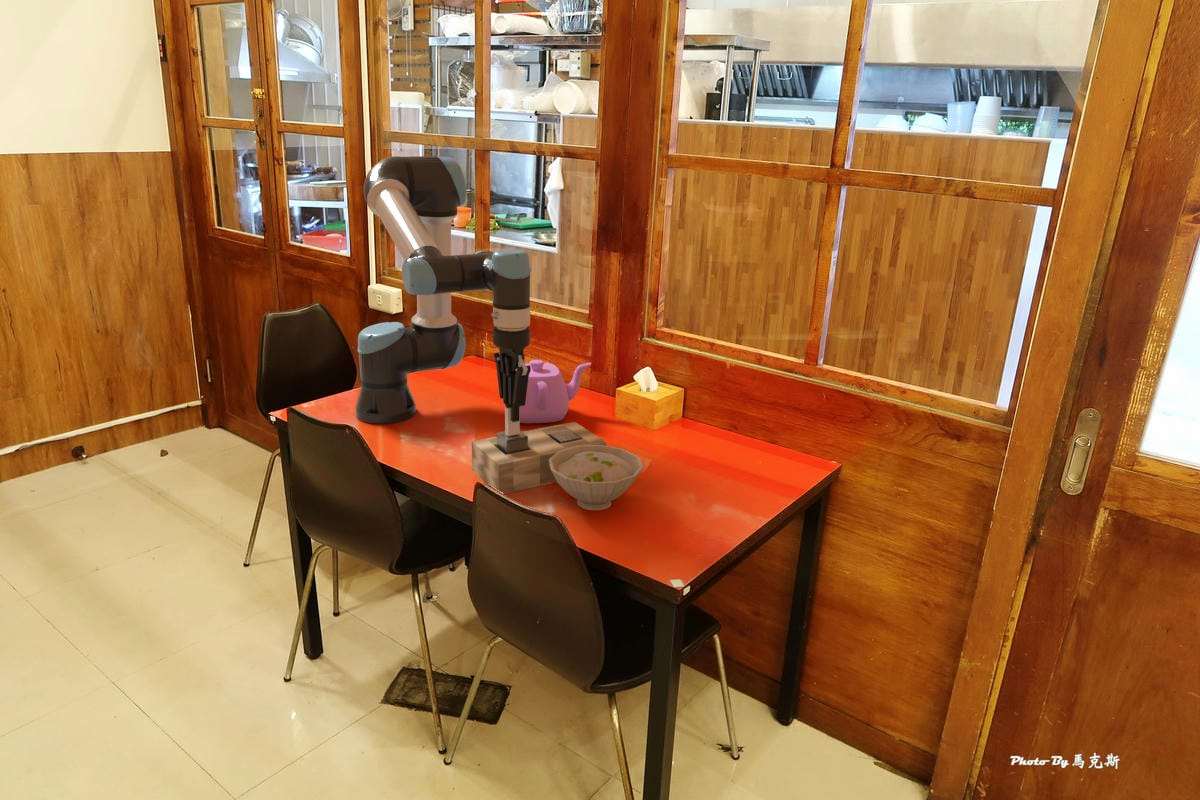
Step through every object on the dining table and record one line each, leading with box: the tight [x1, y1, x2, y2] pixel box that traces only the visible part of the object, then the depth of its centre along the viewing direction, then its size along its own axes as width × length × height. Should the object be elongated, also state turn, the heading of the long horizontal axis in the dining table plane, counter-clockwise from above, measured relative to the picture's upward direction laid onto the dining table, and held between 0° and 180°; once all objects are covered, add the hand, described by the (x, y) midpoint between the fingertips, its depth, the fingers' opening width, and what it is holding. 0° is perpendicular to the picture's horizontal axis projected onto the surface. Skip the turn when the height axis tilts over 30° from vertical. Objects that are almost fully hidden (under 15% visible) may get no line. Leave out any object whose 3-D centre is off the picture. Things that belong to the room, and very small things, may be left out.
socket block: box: [471, 421, 607, 495], centre depth 176 cm, size 14×26×7 cm, turn 121°
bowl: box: [549, 445, 644, 511], centre depth 162 cm, size 19×19×10 cm
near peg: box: [496, 430, 528, 455], centre depth 172 cm, size 5×5×6 cm
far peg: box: [550, 430, 580, 444], centre depth 179 cm, size 5×5×6 cm
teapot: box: [520, 359, 592, 424], centre depth 206 cm, size 23×21×15 cm
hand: (512, 433), depth 171 cm, fingers closed
